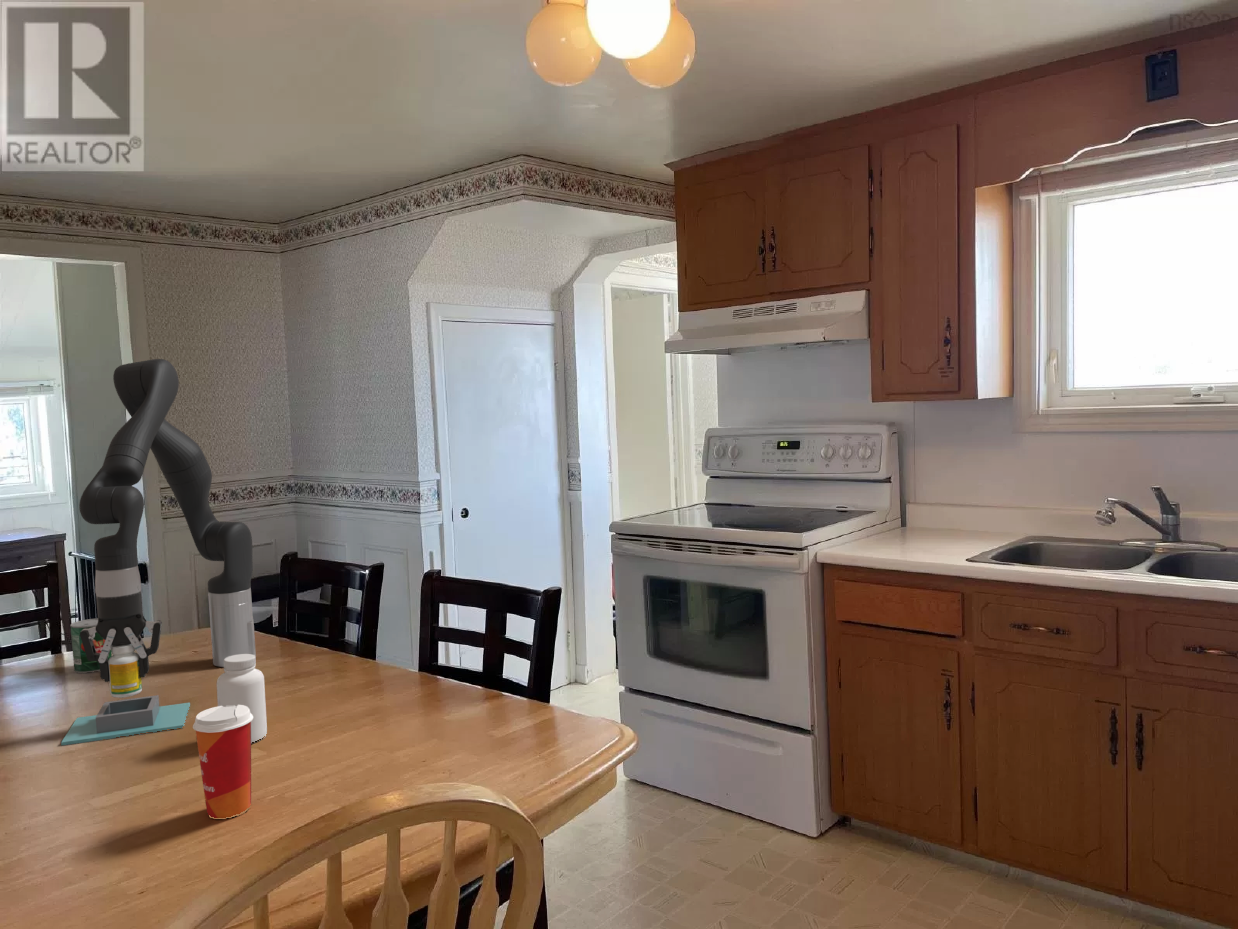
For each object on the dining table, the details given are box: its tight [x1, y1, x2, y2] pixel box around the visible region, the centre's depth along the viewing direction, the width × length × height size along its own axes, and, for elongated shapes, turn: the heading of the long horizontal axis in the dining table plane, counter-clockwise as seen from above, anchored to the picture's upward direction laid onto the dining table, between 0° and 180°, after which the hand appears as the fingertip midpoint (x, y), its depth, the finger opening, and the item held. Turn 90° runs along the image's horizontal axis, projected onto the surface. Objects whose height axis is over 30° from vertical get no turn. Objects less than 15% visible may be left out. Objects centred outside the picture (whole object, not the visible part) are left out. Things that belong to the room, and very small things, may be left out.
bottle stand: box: [61, 694, 191, 747], centre depth 175 cm, size 20×14×4 cm
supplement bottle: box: [108, 644, 143, 699], centre depth 174 cm, size 5×5×10 cm
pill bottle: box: [216, 654, 268, 744], centre depth 165 cm, size 8×8×15 cm
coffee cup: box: [192, 705, 253, 818], centre depth 135 cm, size 8×8×15 cm
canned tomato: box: [69, 617, 113, 674], centre depth 213 cm, size 8×8×11 cm
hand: (125, 678), depth 174 cm, fingers closed on supplement bottle, 5 cm apart
